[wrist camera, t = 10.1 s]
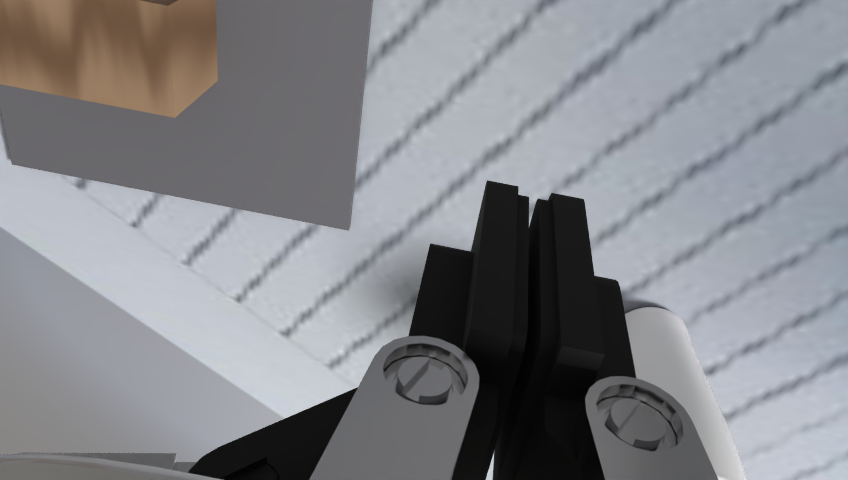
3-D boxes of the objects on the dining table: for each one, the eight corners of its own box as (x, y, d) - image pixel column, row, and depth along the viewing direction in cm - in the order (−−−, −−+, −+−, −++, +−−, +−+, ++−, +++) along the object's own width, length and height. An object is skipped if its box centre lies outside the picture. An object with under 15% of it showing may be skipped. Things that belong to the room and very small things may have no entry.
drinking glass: (581, 349, 50) (598, 530, 37) (627, 281, 46) (662, 456, 34) (665, 379, 50) (709, 568, 38) (717, 315, 47) (784, 500, 34)
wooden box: (215, -20, 39) (12, -58, 39) (168, 5, 34) (-64, -38, 34) (217, 80, 42) (30, 45, 42) (175, 117, 37) (-37, 77, 37)
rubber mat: (-71, -257, 35) (-78, -258, 34) (390, -177, 34) (388, -176, 33) (16, 161, 48) (11, 164, 47) (350, 226, 47) (348, 230, 47)
